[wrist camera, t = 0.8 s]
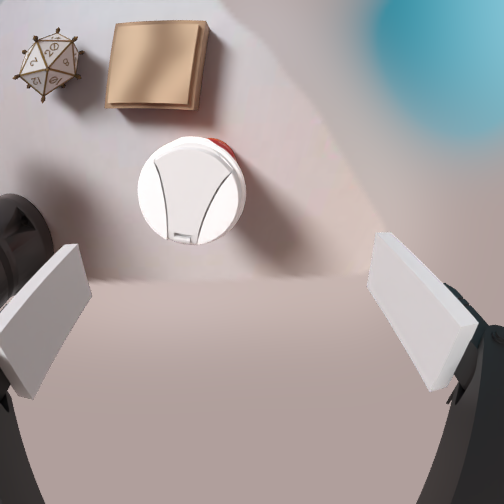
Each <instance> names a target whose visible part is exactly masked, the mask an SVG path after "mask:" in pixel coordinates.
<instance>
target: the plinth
mask: <svg viewBox="0 0 504 504" xmlns="http://www.w3.org/2000/svg"><path fill="white" fill-rule="evenodd" d="M209 30H210V28H209V26H208V24H207V22H206V21H192V20H167V21H142V22H129V23H118V24H116V25H115V31H114V37H113V42H112V49H111V55H110V62H109V70H108V78H107V87H106V97H105V108H159V109H182V110H198V107H199V99H200V91H201V83H202V76H203V69H204V62H205V55H206V48H207V42H208V36H209Z"/></svg>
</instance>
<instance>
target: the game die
mask: <svg viewBox="0 0 504 504" xmlns="http://www.w3.org/2000/svg"><path fill="white" fill-rule="evenodd" d="M59 32H60V28H59V27H58V28H57V29H56V33H55V34H52V35H49V36H47V37H44V38H41V39H39V40H38V37H37V36H34V37H33V39H34V41H35V43H34V44H33V45H32V46H31V47H30V49H29V50H28V51H26V50H23V51H22V54H25V57H24V60H23V64H22V67H21V70H20V73H19V75H15V76H14V78H13V79H15V80H16V79H18V78H19V77H20V78H21V79H23V80H24V81H25V82H26V83H27V84H28V85H27V88H30V87H32V88H33V89H35V90H36V91H37V92H38V93H39V94H41V95H42V98H41V101H42V103H43V102H44V101H45V96H46V95H47V94H49V93H50V92H52V91H53V90H55V89H56V88H58V87H59V86H61V87H62V88H65V86H66V85H65V84H64V83H65V82H67V81H69V80H70V79H72V78H74V77H76V78H77V79H81V77H80V75H79V74H78V75H77V74H76V71H77V64H78V57H79V55H81V54H83V53H84V52H85V51H80V52H78V50H77V48H76V46H75V44H74V42H75V41H76V40H77V38H78V36H77V37H74V38H73V39H72V40H70V39H68V38H66V37H65V36H63V35H61V34H59Z"/></svg>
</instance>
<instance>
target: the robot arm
mask: <svg viewBox="0 0 504 504" xmlns="http://www.w3.org/2000/svg"><path fill="white" fill-rule="evenodd" d="M367 288H368V290H369V291H370V293H371V294H372V296H373V297H374V299H375V300H376V302H377V304H378V305H379V307H380V308H381V310H382V312H383V313H384V315H385V316H386V318H387V320H388V321H389V323H390V324H391V326H392V328H393V329H394V331H395V333H396V334H397V336H398V338H399V339H400V341H401V342H402V344H403V346H404V348H405V349H406V351H407V353H408V355H409V356H410V358H411V360H412V362H413V363H414V365H415V367H416V369H417V370H418V372H419V374H420V376H421V378H422V379H423V381H424V383H425V385H426V387H427V388H428V390H429V392H432V391H435V390H438V389H442V388H445V387H447V386H448V384H449V382H450V381H451V379H452V377H453V375H455V376H456V378H457V380H458V381H459V382H458V384H457V386H456V387H455V389H454V390H453V392H452V394H451V396H450V397H449V399H448V401H447V402H446V404H449V403H450V401H451V400H452V402H451V406H450V410H449V414H448V418H447V421H446V425H445V428H444V431H443V435H442V438H441V441H440V444H439V447H438V450H437V453H436V456H435V459H434V461H433V464H432V467H431V470H430V472H429V475H428V477H427V480H426V482H425V485H424V487H423V489H422V492H421V494H420V497H419V499H418V501H417V503H416V504H504V327H502V326H498V325H490V326H489V325H488V324H487V323H486V322H485V321H484V320H483V318H482V317H481V316H480V315H479V314H478V313H477V312H476V311H475V310H474V308H472V306H469V303H468V302H467V301H466V300H465V299H463V297H462V296H461V295H460V294H459V293H458V291H457V290H456V289H454V288H452V287H451V286H449V285H447V284H446V283H442V282H441V281H440V280H439V279H438V278H437V277H436V276H435V275H434V274H433V273H432V272H431V271H430V270H429V269H428V268H427V267H426V266H425V265H424V264H423V263H422V262H421V261H420V260H419V259H418V258H417V257H416V256H415V255H414V254H413V253H412V252H411V251H410V250H409V249H408V248H407V247H406V246H405V245H404V244H403V243H402V242H401V241H399V240H398V239H397V238H396V237H395V236H394V235H393V234H392V233H391V232H377V233H375V240H374V247H373V253H372V259H371V265H370V271H369V277H368V282H367ZM14 295H15V297H14V298H13V299H12V300H11V301H10V302H9V303H8V304H6V306H5V307H4V308H3V309H2V310H1V311H0V504H45V502H44V500H43V498H42V495H41V493H40V490H39V488H38V485H37V483H36V481H35V478H34V475H33V472H32V469H31V467H30V464H29V461H28V458H27V455H26V452H25V448H24V445H23V442H22V439H21V435H20V431H19V428H18V424H17V420H16V416H15V412H14V407H13V403H12V398H11V396H10V394H9V393H8V391H7V390H8V388H9V386H10V385H11V386H12V387H13V389H14V390H15V392H16V393H17V395H18V396H21V397H24V398H28V399H32V400H33V399H34V397H35V395H36V394H37V392H38V390H39V388H40V385H41V384H42V382H43V380H44V378H45V376H46V374H47V372H48V370H49V368H50V367H51V364H52V363H53V361H54V359H55V357H56V356H57V354H58V352H59V350H60V348H61V347H62V345H63V343H64V341H65V340H66V338H67V336H68V335H69V332H70V331H71V329H72V328H73V326H74V324H75V323H76V321H77V319H78V318H79V316H80V315H81V313H82V311H83V310H84V308H85V306H86V305H87V303H88V301H89V300H90V298H91V297H92V293H91V290H90V287H89V283H88V280H87V276H86V273H85V269H84V265H83V261H82V258H81V254H80V250H79V245H78V244H65V245H64V246H62V247H61V248H60V249H59V250H58V251H57V252H56V253H55V254H54V255H53V244H52V239H51V235H50V232H49V230H48V227H47V225H46V223H45V221H44V219H43V217H42V216H41V214H40V213H39V211H38V210H37V209H36V208H35V207H34V206H33V205H32V204H31V203H30V202H29V201H28V200H26V199H25V198H23V197H21V196H19V195H16V194H4V195H1V196H0V308H1V307H2V306H3V305H4V304H5V303H6V301H7V300H8V299H9V298H10V297H12V296H14Z"/></svg>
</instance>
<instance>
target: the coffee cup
mask: <svg viewBox="0 0 504 504" xmlns="http://www.w3.org/2000/svg"><path fill="white" fill-rule="evenodd" d="M138 199H139V204H140V208H141V211H142V214H143V216H144V218H145V220H146V221H147V223H148V224H149V226H150V227H151V228H152V229H153V230H154V231H155V232H156V233H157V234H158V235H160V236H161V237H163V238H164V239H166V240H168V239H170V240H172V241H174V242H178V243H182V244H189V245H200V244H205V243H209V242H212V241H214V240H217V239H218V238H220V237H222V236H224V235H225V234H226V233H227V232H229V231H230V230H231V229H232V228H233V227H234V226H235V224H236V223H237V221H238V220H239V218H240V216H241V214H242V212H243V209H244V205H245V200H246V185H245V180H244V176H243V174H242V171H241V169H240V167H239V166H238V164H237V162H236V158H235V155H234V153H233V151H232V149H231V148H230V147H229V146H228V145H227V144H226V143H224V142H223V141H221V140H218V139H214V138H201V137H192V136H189V137H181V138H179V139H177V140H175V141H173V142H170V143H168V144H166V145H164V146H163V147H161V148H160V149H158V150H157V151H156V152H155V153H154V154H152V155H151V157H150V158H149V159H148V160H147V162H146V163H145V165H144V167H143V169H142V171H141V174H140V177H139V182H138Z"/></svg>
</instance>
